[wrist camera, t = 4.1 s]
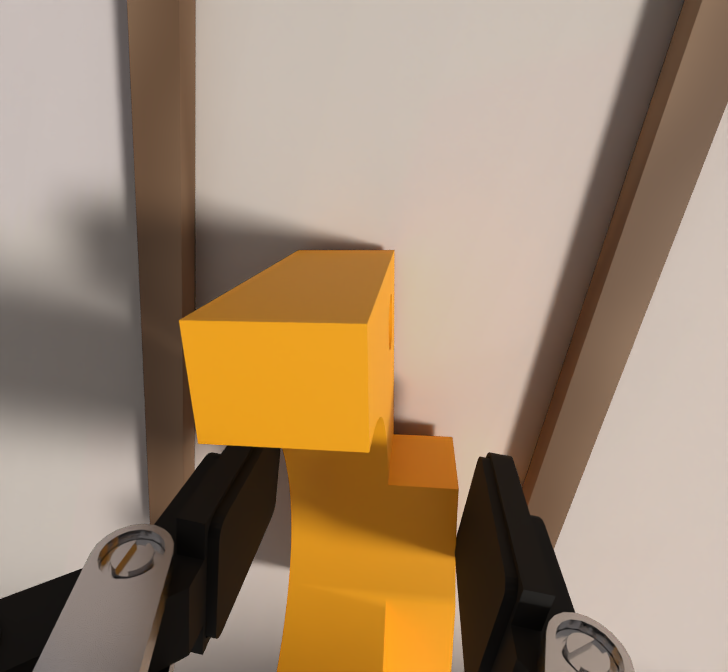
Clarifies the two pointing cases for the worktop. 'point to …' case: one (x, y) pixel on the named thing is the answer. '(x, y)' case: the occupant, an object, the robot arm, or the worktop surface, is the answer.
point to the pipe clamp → (335, 458)
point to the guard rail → (602, 303)
